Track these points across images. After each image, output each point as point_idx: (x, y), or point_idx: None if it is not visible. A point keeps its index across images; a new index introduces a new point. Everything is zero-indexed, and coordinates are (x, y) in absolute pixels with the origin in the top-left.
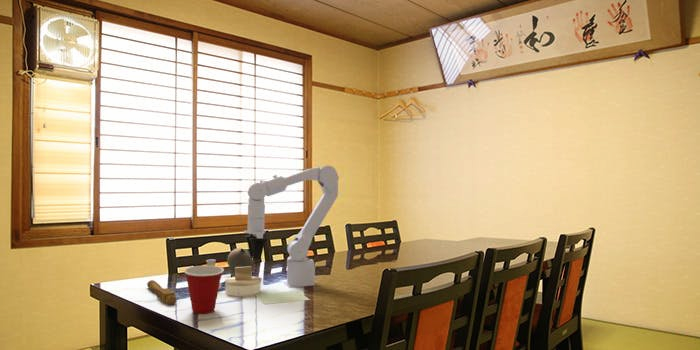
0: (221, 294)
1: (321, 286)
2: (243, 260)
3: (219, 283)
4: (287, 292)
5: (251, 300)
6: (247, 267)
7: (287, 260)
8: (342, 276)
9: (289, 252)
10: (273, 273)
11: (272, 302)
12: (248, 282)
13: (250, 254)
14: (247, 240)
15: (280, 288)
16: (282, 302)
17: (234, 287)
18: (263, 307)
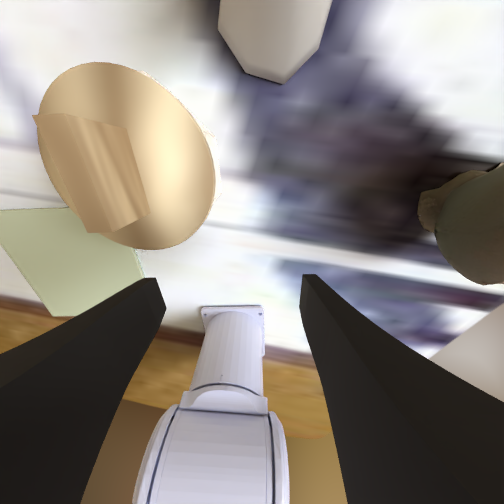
0: (147, 68)
1: None
2: (483, 232)
3: (261, 53)
4: None
5: (45, 183)
6: (76, 206)
7: (229, 383)
8: (292, 404)
9: (214, 430)
10: (437, 310)
11: (4, 236)
12: (57, 188)
13: (305, 281)
14: (392, 402)
15: (207, 287)
16: (12, 260)
17: None
18: None
